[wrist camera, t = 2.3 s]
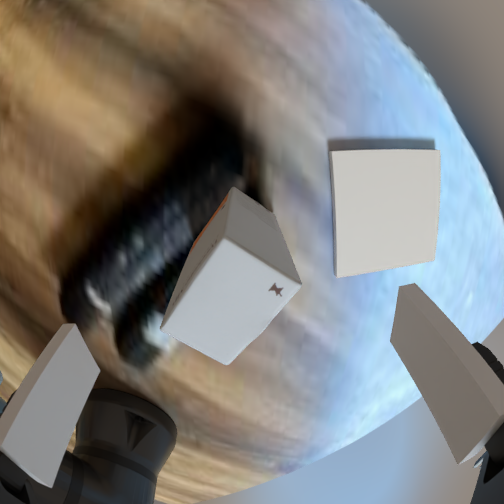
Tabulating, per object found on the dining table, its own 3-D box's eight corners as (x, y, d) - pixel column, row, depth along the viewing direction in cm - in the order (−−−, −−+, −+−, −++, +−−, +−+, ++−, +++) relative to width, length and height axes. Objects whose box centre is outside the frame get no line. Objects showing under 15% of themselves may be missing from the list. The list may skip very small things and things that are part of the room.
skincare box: (232, 184, 22) (225, 231, 11) (275, 214, 23) (308, 285, 12) (191, 243, 24) (156, 331, 13) (232, 269, 25) (229, 369, 14)
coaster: (334, 274, 26) (336, 278, 25) (328, 150, 22) (331, 151, 21) (430, 257, 26) (434, 260, 25) (435, 149, 21) (440, 150, 21)
